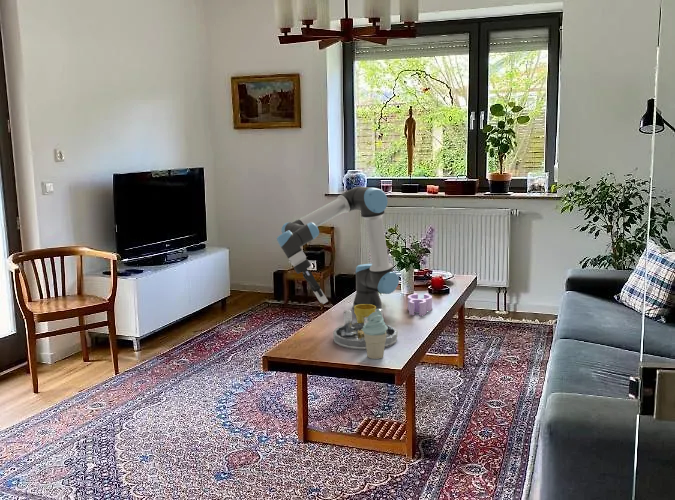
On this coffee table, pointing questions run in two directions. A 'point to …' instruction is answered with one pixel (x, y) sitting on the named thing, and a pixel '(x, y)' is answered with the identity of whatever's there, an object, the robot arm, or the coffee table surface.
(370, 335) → the ice cream cone
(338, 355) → the coffee table surface
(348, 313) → the grey round-based stand
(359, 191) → the robot arm
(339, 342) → the grey round tray
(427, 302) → the clip
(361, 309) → the plant pot
